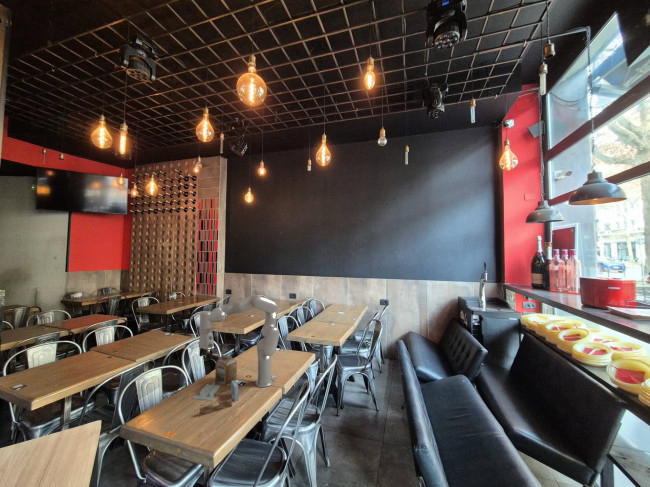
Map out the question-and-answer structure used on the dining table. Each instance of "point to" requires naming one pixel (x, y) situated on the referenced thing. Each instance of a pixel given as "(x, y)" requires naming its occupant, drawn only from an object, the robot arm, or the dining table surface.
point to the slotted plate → (234, 390)
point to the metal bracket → (207, 392)
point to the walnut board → (215, 407)
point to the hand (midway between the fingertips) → (205, 357)
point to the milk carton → (225, 370)
